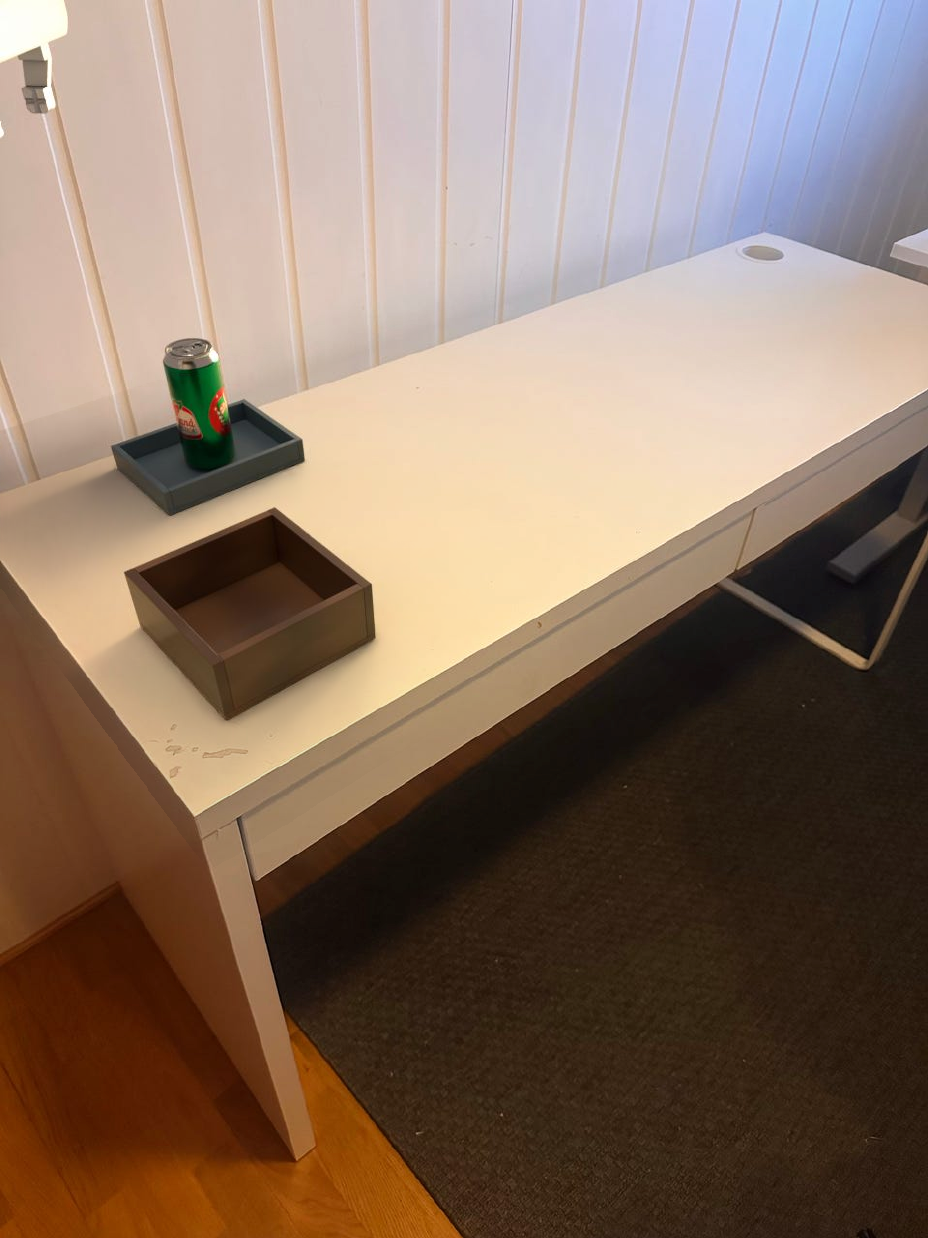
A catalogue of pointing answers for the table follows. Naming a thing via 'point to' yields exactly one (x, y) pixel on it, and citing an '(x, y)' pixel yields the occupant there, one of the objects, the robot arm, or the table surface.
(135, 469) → the tray
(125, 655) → the table surface
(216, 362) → the soda can
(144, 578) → the basket
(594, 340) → the table surface
